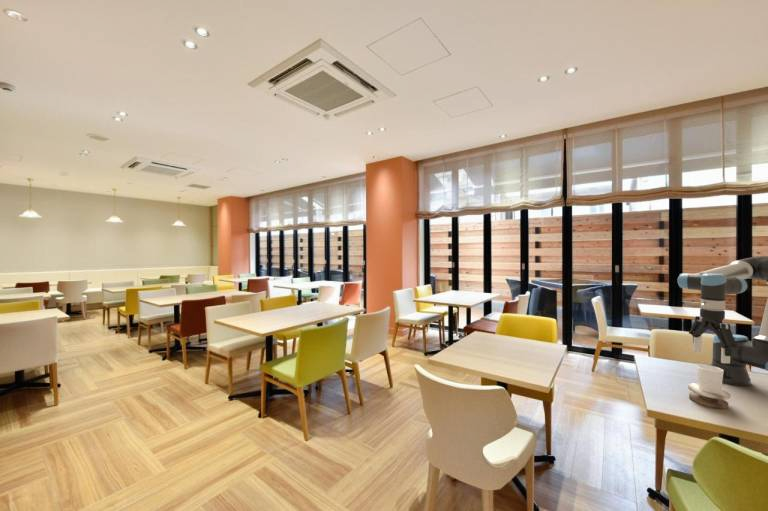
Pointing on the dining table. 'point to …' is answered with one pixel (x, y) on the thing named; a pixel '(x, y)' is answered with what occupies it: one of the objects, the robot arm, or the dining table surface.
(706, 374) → the white cup
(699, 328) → the robot arm
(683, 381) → the dining table surface
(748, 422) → the dining table surface
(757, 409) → the dining table surface
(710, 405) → the cake stand
